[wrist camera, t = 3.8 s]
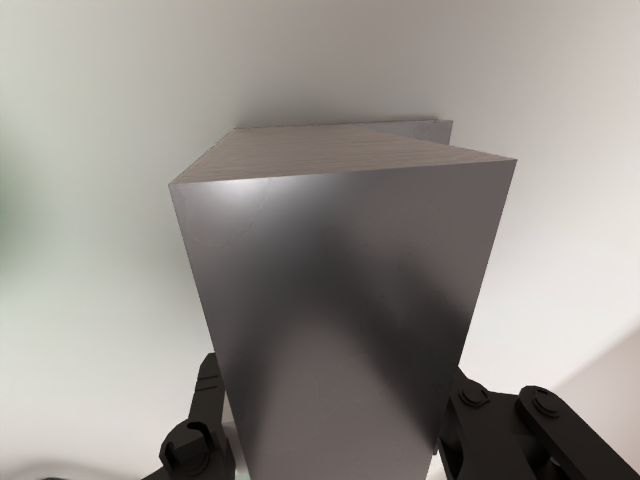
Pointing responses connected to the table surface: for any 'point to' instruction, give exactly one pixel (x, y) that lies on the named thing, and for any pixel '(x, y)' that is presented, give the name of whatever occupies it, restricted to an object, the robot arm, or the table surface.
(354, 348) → the angle bracket
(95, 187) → the table surface
